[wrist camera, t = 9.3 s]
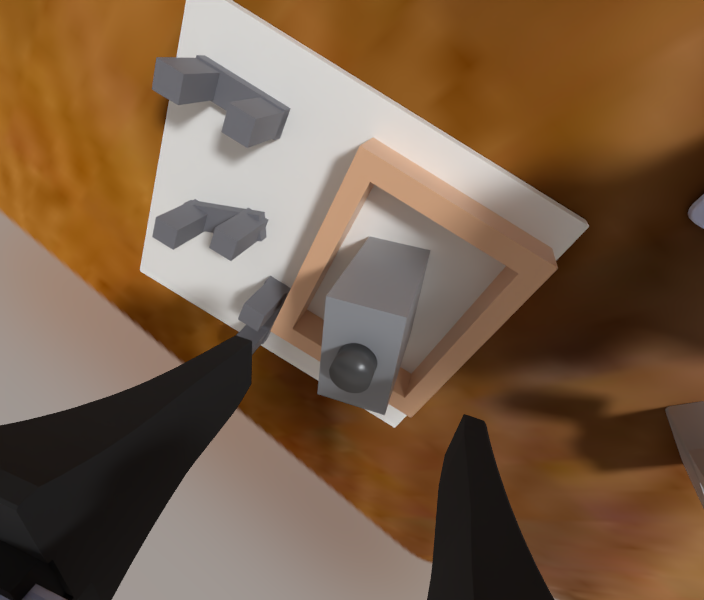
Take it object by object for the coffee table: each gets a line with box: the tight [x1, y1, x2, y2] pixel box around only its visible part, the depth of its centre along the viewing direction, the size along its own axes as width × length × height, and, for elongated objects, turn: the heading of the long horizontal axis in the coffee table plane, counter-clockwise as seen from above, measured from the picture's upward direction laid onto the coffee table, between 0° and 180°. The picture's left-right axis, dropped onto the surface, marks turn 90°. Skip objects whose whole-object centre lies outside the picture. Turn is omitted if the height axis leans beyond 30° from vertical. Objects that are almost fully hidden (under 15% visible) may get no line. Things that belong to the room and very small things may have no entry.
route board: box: [140, 0, 589, 428], centre depth 20 cm, size 19×16×4 cm
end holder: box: [270, 138, 558, 418], centre depth 19 cm, size 9×11×2 cm
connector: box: [317, 236, 431, 415], centre depth 18 cm, size 3×5×7 cm, turn 173°
